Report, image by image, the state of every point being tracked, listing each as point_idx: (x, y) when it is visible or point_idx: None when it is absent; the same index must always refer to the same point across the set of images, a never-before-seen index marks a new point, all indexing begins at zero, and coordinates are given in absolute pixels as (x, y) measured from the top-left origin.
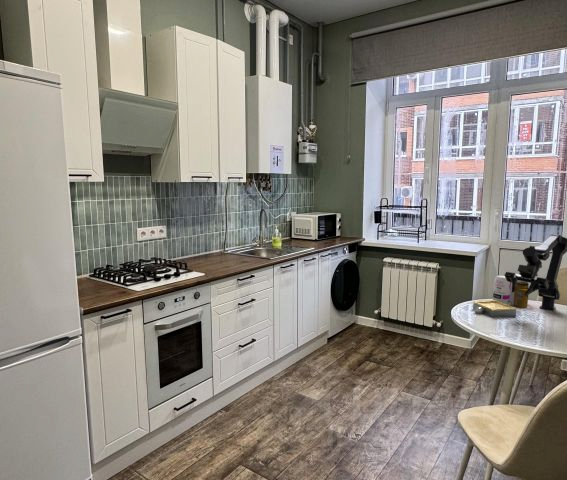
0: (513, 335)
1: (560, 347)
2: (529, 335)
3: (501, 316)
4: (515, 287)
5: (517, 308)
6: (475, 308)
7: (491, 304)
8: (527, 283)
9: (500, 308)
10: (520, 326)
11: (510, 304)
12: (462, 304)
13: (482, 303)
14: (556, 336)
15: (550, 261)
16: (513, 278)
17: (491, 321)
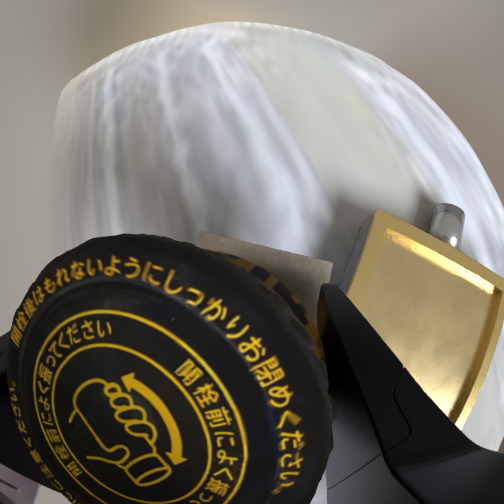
0: (181, 74)
1: (59, 116)
2: (135, 120)
3: (339, 286)
4: (299, 317)
5: (222, 238)
6: (460, 212)
7: (447, 365)
8: (20, 416)
9: (366, 284)
10: (192, 197)
11: (314, 315)
12: None
13: (482, 329)
14: (61, 205)
15: None
16: (500, 496)
17: (325, 149)
